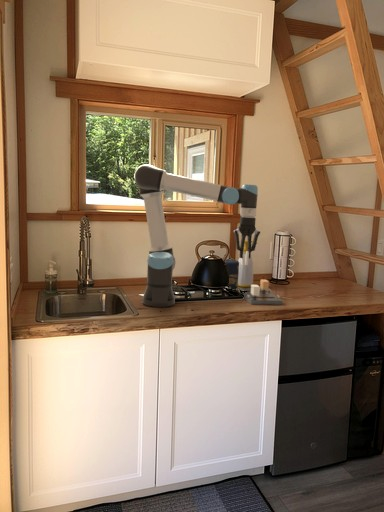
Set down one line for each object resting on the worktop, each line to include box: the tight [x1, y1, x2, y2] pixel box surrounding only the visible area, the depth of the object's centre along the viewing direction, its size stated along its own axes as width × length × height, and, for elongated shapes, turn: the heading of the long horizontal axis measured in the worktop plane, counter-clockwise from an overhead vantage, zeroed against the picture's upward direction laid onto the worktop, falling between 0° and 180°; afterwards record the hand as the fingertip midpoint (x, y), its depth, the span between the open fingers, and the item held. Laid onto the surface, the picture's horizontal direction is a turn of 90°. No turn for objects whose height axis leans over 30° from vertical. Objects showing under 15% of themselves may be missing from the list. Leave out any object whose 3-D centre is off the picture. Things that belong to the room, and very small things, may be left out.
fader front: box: [250, 284, 260, 297], centre depth 217 cm, size 3×5×5 cm, turn 9°
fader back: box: [259, 279, 270, 291], centre depth 231 cm, size 3×5×5 cm, turn 9°
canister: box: [224, 258, 239, 289], centre depth 234 cm, size 10×10×18 cm
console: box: [237, 287, 284, 306], centre depth 225 cm, size 16×26×3 cm, turn 9°
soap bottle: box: [237, 240, 258, 288], centre depth 251 cm, size 11×12×26 cm
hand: (244, 264), depth 214 cm, fingers closed
